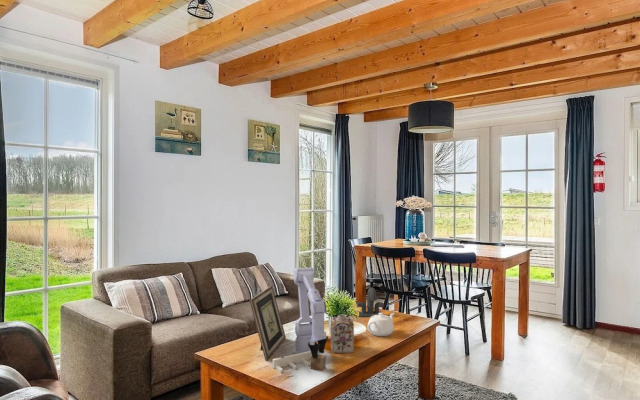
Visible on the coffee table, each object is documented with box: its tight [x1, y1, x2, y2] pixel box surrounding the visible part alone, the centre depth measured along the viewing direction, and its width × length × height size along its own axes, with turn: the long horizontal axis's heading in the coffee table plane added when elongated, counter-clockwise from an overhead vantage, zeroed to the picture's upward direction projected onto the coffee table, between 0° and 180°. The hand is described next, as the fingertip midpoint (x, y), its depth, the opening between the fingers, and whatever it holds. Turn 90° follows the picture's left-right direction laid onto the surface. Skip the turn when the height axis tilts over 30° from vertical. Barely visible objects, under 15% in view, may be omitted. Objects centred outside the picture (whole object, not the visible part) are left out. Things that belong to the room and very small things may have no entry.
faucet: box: [356, 287, 385, 318], centre depth 286 cm, size 18×16×20 cm
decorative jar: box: [329, 313, 355, 354], centre depth 226 cm, size 12×12×18 cm
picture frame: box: [249, 285, 287, 361], centre depth 227 cm, size 33×10×30 cm, turn 168°
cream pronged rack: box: [271, 351, 312, 374], centre depth 205 cm, size 8×24×5 cm, turn 122°
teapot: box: [366, 312, 395, 337], centre depth 253 cm, size 25×16×12 cm, turn 135°
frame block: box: [310, 353, 327, 372], centre depth 201 cm, size 6×4×6 cm, turn 67°
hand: (318, 355), depth 201 cm, fingers open, 7 cm apart
